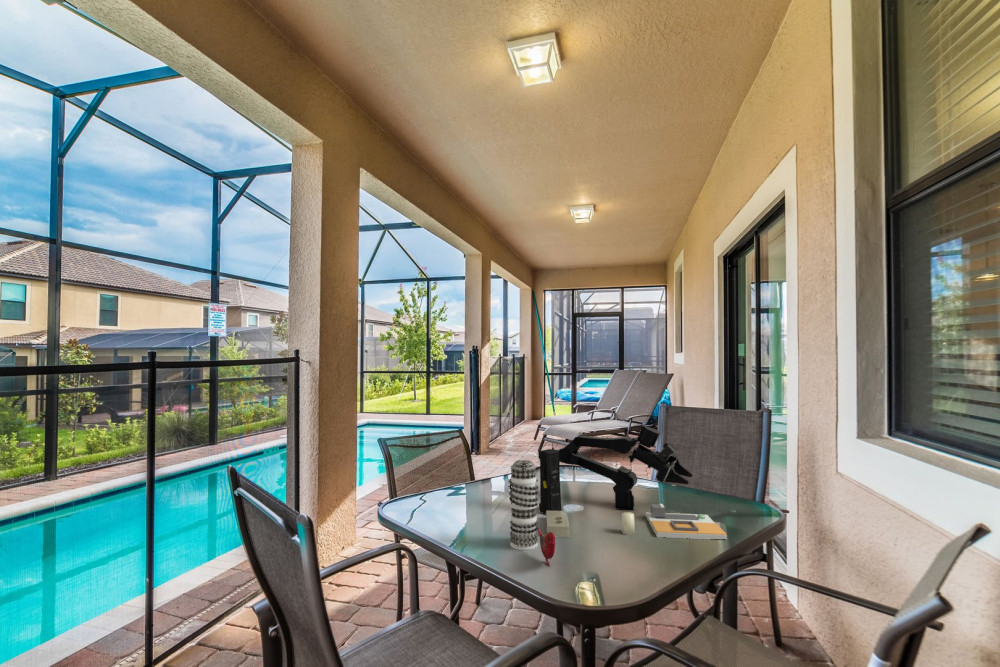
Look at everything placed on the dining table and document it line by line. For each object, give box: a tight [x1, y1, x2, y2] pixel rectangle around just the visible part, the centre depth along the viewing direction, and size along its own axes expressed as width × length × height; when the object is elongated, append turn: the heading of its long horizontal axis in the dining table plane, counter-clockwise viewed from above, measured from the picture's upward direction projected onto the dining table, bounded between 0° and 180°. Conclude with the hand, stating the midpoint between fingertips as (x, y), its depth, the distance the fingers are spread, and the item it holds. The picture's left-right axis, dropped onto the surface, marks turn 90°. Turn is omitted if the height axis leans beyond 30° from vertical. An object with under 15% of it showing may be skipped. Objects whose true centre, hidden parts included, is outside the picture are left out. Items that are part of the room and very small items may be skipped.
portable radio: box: [537, 442, 563, 514], centre depth 172 cm, size 8×6×25 cm
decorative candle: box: [507, 459, 539, 551], centre depth 141 cm, size 9×9×25 cm
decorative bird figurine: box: [537, 527, 556, 567], centre depth 129 cm, size 3×18×10 cm, turn 9°
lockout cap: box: [621, 511, 636, 536], centre depth 150 cm, size 4×4×6 cm
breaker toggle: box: [650, 503, 666, 517], centre depth 161 cm, size 4×4×3 cm
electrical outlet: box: [545, 510, 571, 538], centre depth 155 cm, size 7×4×18 cm
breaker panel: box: [645, 512, 728, 540], centre depth 154 cm, size 21×20×3 cm
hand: (690, 479), depth 165 cm, fingers open, 9 cm apart
